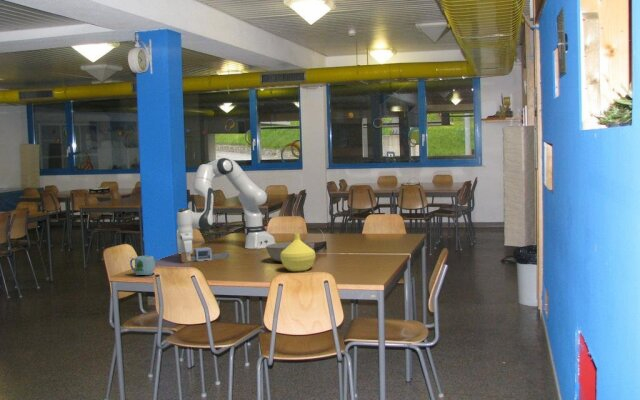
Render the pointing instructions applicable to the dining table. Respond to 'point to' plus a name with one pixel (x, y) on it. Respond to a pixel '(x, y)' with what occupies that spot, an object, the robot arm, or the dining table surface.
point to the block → (185, 257)
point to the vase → (297, 255)
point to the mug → (143, 265)
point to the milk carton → (180, 245)
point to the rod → (214, 256)
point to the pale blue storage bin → (202, 253)
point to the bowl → (281, 249)
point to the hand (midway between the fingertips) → (187, 258)
